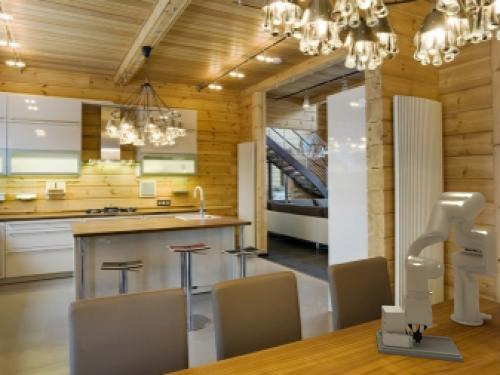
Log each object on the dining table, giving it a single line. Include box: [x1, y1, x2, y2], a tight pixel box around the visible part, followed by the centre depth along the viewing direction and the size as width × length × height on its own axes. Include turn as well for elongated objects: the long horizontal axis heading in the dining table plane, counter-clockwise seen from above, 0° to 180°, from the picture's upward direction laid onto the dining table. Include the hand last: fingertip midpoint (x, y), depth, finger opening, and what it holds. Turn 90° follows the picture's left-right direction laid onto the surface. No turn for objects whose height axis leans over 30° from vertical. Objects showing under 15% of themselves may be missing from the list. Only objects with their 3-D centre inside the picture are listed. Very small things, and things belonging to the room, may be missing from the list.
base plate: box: [375, 330, 464, 363], centre depth 138 cm, size 28×16×2 cm, turn 74°
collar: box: [380, 320, 413, 349], centre depth 140 cm, size 10×12×5 cm
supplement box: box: [381, 305, 406, 337], centre depth 140 cm, size 7×7×13 cm
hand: (417, 341), depth 138 cm, fingers closed
